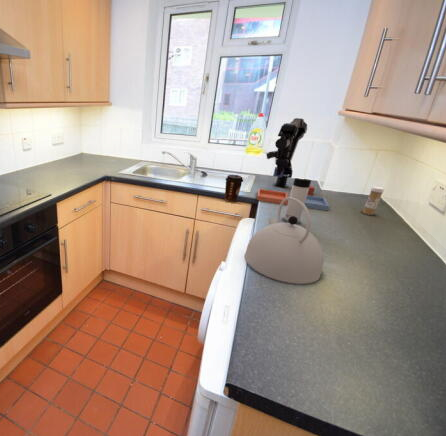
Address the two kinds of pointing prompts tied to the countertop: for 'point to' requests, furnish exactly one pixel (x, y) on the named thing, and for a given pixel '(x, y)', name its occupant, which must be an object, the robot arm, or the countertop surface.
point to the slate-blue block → (276, 173)
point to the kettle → (286, 250)
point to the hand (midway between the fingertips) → (278, 174)
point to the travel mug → (299, 193)
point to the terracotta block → (311, 190)
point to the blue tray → (316, 203)
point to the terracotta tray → (272, 196)
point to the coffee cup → (232, 187)
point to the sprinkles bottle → (373, 200)
